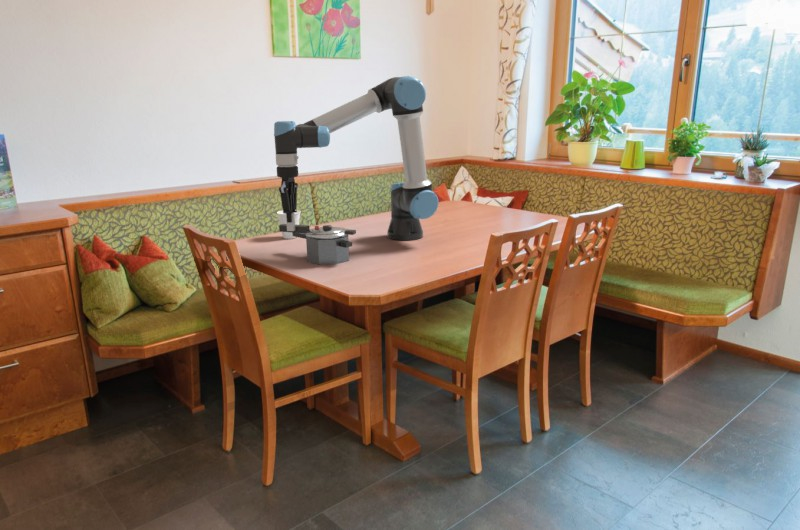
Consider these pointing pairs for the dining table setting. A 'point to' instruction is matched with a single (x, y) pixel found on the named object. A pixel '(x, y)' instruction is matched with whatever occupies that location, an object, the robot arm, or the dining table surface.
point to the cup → (283, 221)
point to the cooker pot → (326, 249)
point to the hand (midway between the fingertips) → (291, 230)
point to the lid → (320, 231)
